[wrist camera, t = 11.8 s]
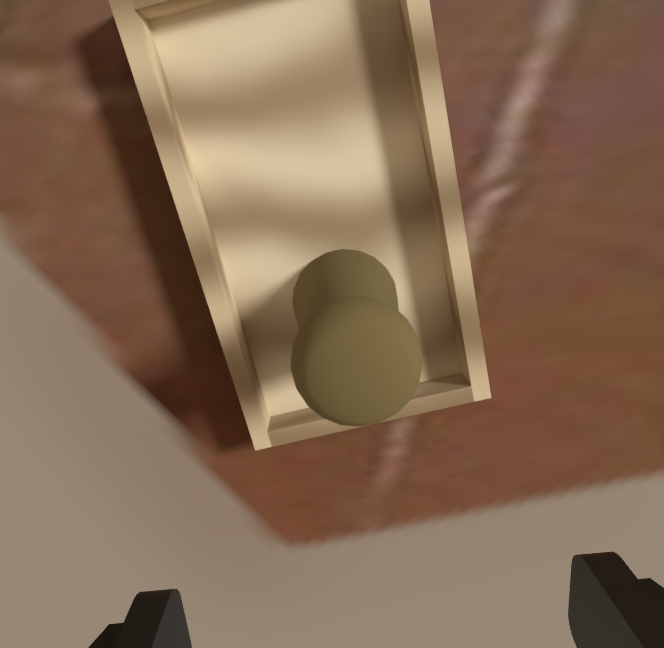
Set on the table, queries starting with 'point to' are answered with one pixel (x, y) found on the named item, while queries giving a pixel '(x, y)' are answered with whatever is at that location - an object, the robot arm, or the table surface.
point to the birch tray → (309, 179)
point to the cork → (352, 340)
